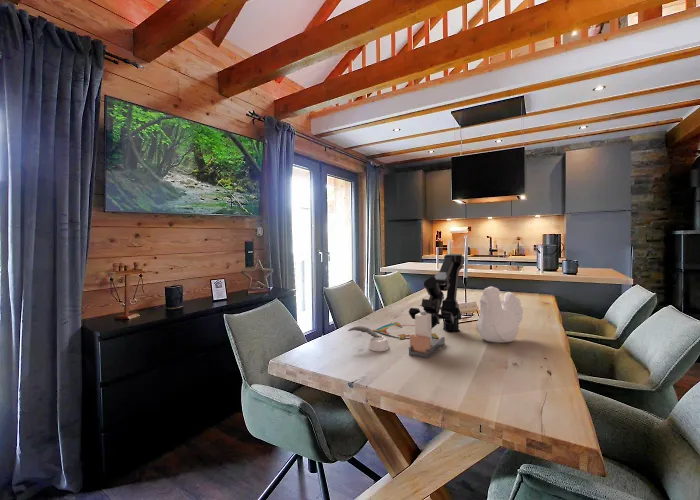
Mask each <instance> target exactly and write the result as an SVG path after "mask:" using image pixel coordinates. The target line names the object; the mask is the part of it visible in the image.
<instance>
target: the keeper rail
mask: <svg viewBox="0 0 700 500" xmlns="http://www.w3.org/2000/svg"><path fill="white" fill-rule="evenodd" d="M409 335H410V337H409V338H410V339H409V347H408V355H409V356H413V357H414V356H415V357H419V358H423V359H429V358H430V357H431V356H433V355H434V354H435V353H436V352H437V351H439V350H440V349H441V348H442V347H443V346H444V345H446V341H445V340H446V339H445V337H444V336H442V337H440V338H439V339H434V338H432V346H431V338H430V337H424V336H418V335H415V334H409Z"/></svg>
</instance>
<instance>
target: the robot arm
mask: <svg viewBox="0 0 700 500" xmlns="http://www.w3.org/2000/svg"><path fill="white" fill-rule="evenodd" d="M464 263H465V256H464V255H463V254H461V253H449V254H448V253H446V254H444V257H443V261H442V264H441V267H440V269H439V271H438V273H437V274H435V275H434V276H430V277H429V278H427V279H426V280H425V281H424V282H423V287H424V288H425V290H426V292H427V295H429V298H428V299H427V298H426V299H425V298H422V299H421V305H420V306H421V307H422V309H423V311H426V313H428V314H431V330H432V329H433V328H434V327H436V326H437V325H440V323H441V322H440V321H441V320H443V325H442V326H443V327H442V329H443V330H445V331H446V332H448V333H454V332H455V333H456V332H461V329H460V327H459V322H460V320H462V312H461V310H460V305H459V302H458V300H457V293H458V284H459V282H458V281H459V274H460V271H461V270H462V268H463V267H464ZM444 292H446V298H445V294H444ZM420 311H421V310H420V309H419V308H418V307H410V308H409V310H408V315H409V316H410V317H411V319H413V320H415V315H416V314H418V313H420Z"/></svg>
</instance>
